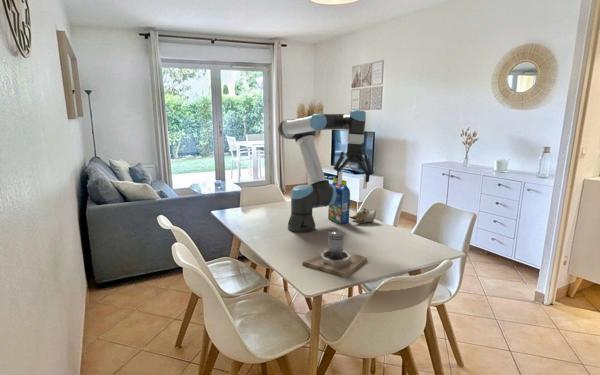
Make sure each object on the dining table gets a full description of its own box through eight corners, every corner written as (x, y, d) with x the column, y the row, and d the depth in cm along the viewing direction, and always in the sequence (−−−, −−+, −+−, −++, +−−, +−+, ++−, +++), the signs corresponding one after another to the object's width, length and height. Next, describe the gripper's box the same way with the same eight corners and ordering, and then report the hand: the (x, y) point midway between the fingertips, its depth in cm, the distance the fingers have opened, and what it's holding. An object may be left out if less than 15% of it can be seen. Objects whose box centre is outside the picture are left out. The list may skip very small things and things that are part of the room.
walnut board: (302, 264, 148) (302, 261, 148) (326, 250, 164) (326, 247, 164) (345, 277, 137) (345, 274, 137) (366, 260, 153) (367, 257, 153)
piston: (325, 260, 150) (325, 233, 147) (332, 255, 155) (332, 228, 153) (339, 263, 146) (339, 235, 144) (346, 258, 152) (346, 231, 149)
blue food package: (336, 217, 216) (337, 177, 211) (349, 222, 206) (350, 180, 201) (327, 219, 213) (329, 178, 208) (340, 224, 203) (342, 181, 198)
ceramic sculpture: (378, 209, 202) (352, 211, 200) (379, 224, 203) (353, 226, 202) (373, 205, 212) (348, 207, 211) (373, 219, 214) (348, 221, 213)
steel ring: (315, 260, 149) (315, 256, 149) (330, 251, 159) (330, 247, 158) (341, 267, 142) (341, 263, 142) (354, 258, 152) (354, 253, 152)
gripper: (383, 145, 167) (378, 189, 171) (336, 140, 181) (333, 181, 185) (377, 145, 161) (372, 191, 165) (328, 141, 174) (326, 183, 179)
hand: (351, 186), depth 175 cm, fingers open, 13 cm apart
